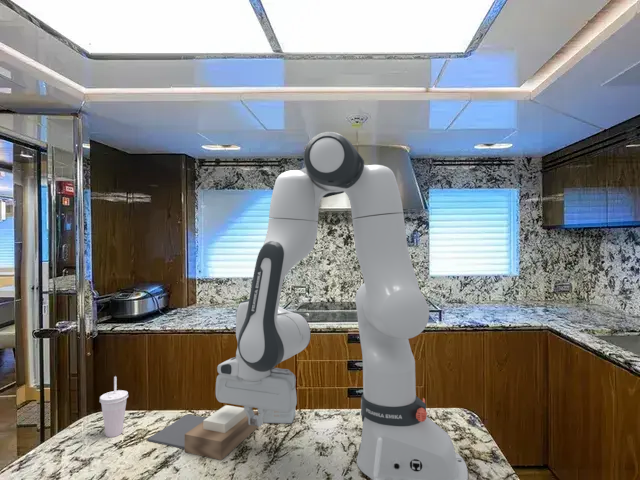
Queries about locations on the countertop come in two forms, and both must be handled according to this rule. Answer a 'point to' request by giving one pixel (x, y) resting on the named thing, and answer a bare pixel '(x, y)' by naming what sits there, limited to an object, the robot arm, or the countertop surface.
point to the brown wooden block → (217, 439)
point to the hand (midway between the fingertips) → (255, 424)
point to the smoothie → (114, 410)
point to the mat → (177, 431)
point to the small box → (278, 417)
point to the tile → (224, 419)
